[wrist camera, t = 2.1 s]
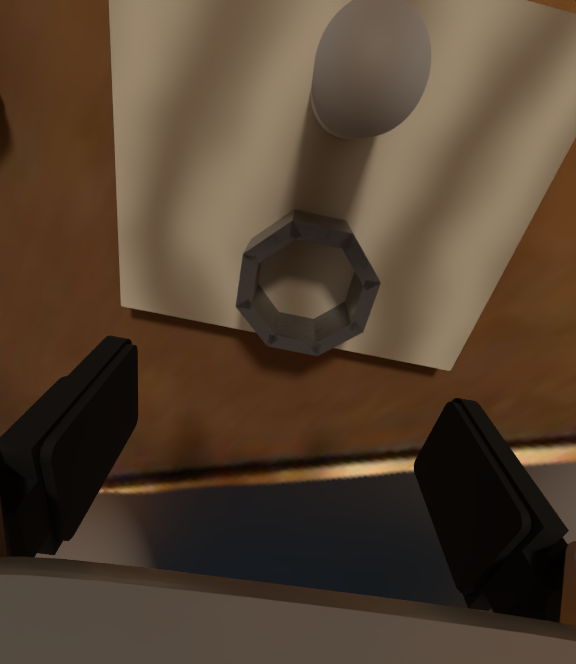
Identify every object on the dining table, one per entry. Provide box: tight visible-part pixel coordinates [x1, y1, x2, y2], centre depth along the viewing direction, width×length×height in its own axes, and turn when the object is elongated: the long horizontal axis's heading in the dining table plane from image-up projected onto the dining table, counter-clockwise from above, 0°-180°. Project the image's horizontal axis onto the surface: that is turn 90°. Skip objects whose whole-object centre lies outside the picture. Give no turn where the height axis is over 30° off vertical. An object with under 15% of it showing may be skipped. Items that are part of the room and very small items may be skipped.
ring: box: [236, 209, 381, 356], centre depth 19 cm, size 7×7×3 cm
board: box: [109, 0, 576, 371], centre depth 16 cm, size 22×18×8 cm
